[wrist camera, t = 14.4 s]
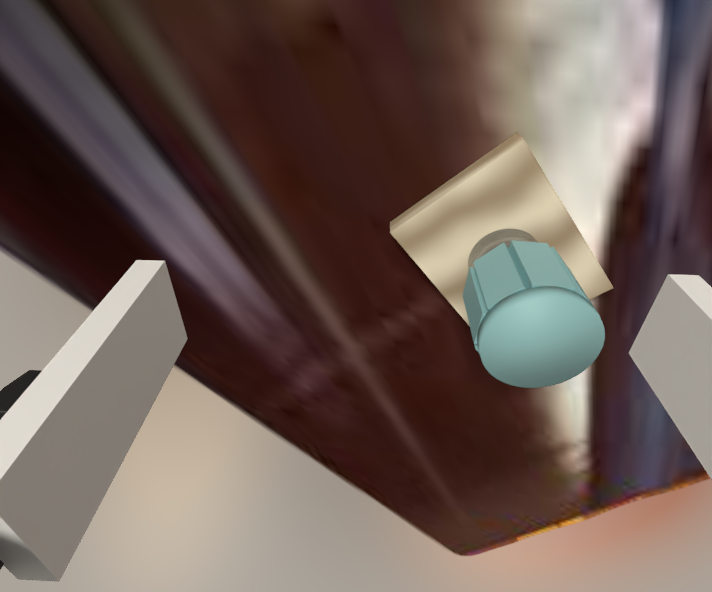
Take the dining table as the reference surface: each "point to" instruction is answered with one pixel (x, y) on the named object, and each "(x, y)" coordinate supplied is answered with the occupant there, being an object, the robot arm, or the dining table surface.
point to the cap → (530, 316)
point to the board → (492, 221)
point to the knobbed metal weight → (497, 242)
